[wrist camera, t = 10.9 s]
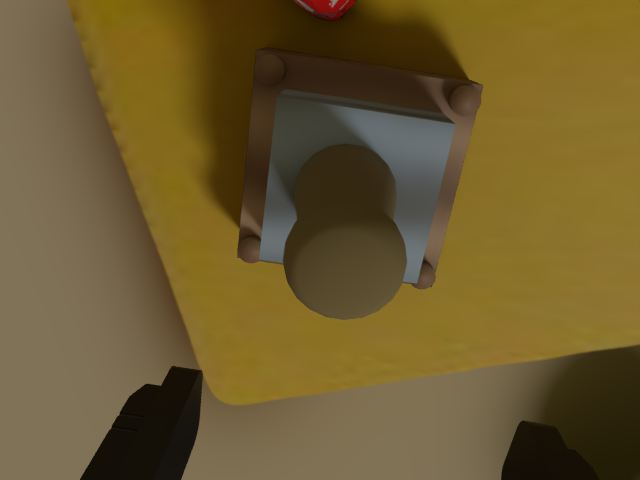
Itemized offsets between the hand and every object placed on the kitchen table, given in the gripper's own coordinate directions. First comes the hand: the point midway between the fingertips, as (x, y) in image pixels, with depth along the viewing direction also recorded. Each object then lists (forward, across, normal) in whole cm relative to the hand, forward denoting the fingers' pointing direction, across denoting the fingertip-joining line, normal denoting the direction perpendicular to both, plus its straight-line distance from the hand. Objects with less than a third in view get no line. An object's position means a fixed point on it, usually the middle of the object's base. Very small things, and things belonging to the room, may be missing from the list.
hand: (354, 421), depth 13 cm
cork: (+19, 0, 0) cm, 19 cm away
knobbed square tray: (+27, 0, 0) cm, 27 cm away
